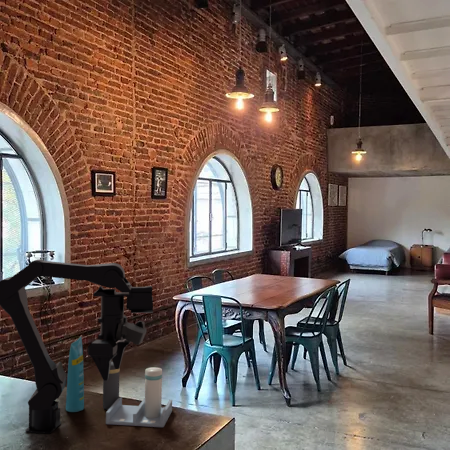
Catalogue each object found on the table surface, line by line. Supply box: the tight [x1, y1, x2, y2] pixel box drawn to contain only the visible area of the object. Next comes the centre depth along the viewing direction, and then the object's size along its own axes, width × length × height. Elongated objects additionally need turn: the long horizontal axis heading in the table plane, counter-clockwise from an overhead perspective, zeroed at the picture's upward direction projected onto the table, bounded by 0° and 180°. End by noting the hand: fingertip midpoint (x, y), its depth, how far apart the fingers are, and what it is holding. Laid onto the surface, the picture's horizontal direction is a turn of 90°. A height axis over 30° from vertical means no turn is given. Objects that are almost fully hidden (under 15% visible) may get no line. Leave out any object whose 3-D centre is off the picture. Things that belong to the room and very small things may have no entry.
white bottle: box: [144, 366, 163, 418], centre depth 132 cm, size 4×4×12 cm
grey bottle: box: [102, 361, 121, 411], centre depth 139 cm, size 4×4×12 cm
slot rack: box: [105, 396, 173, 428], centre depth 132 cm, size 15×11×3 cm
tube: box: [65, 336, 85, 413], centre depth 137 cm, size 7×5×19 cm, turn 2°
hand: (111, 374), depth 127 cm, fingers open, 9 cm apart
